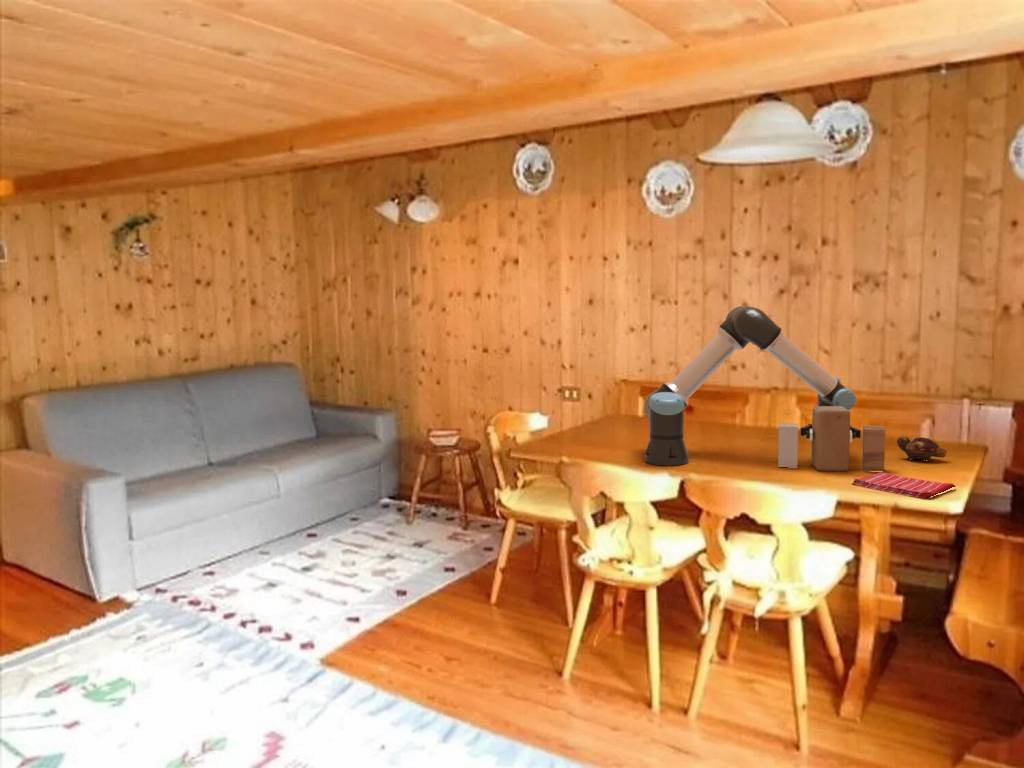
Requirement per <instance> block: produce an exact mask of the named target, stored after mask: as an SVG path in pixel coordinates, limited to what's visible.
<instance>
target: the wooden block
mask: <svg viewBox="0 0 1024 768" xmlns="http://www.w3.org/2000/svg"><path fill="white" fill-rule="evenodd" d="M811 414H812V416H811V417H812V419H811V420H812V423H811V424H812V432H813V435H812V441H811V465H812V466H813V465H814V466H813V467H814V468H815V469H816V470H817V471H819V470H820V471H819V472H847V471H849V469H850V443H851V442H849V441H850V425H851V411H850V410H847V409H846V408H844V407H842V406H818V405H815V406H813V408H812V412H811ZM845 470H846V471H845Z"/></svg>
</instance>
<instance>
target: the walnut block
mask: <svg viewBox="0 0 1024 768" xmlns="http://www.w3.org/2000/svg"><path fill="white" fill-rule="evenodd" d="M885 447H886V428H885V426H883V425H882V426H881V425H880V426H879V425H878V426H877V425H863V430H862V461H861V462H862V464H861V465H862V466H861V467H863V468H862V472H863V471H884V472H885V453H886V452H885V451H886V450H885V449H886V448H885Z"/></svg>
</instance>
